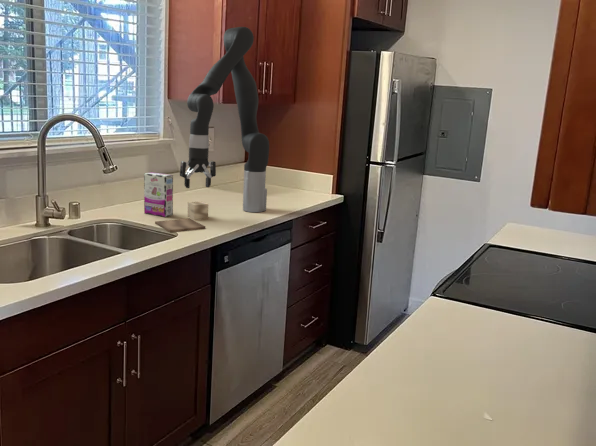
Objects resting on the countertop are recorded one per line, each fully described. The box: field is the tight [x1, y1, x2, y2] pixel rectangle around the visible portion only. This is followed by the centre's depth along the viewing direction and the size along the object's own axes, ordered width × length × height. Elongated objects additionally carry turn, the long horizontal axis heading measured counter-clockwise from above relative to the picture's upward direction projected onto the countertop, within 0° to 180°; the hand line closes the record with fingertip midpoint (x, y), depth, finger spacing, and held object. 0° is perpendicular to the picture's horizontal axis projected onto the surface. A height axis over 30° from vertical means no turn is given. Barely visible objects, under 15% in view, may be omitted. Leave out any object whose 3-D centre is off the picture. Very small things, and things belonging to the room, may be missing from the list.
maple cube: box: [187, 201, 209, 221], centre depth 233 cm, size 6×6×6 cm
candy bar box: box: [143, 171, 174, 218], centre depth 234 cm, size 11×5×16 cm, turn 62°
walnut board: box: [154, 217, 206, 233], centre depth 219 cm, size 14×14×1 cm
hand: (197, 187), depth 231 cm, fingers open, 8 cm apart
